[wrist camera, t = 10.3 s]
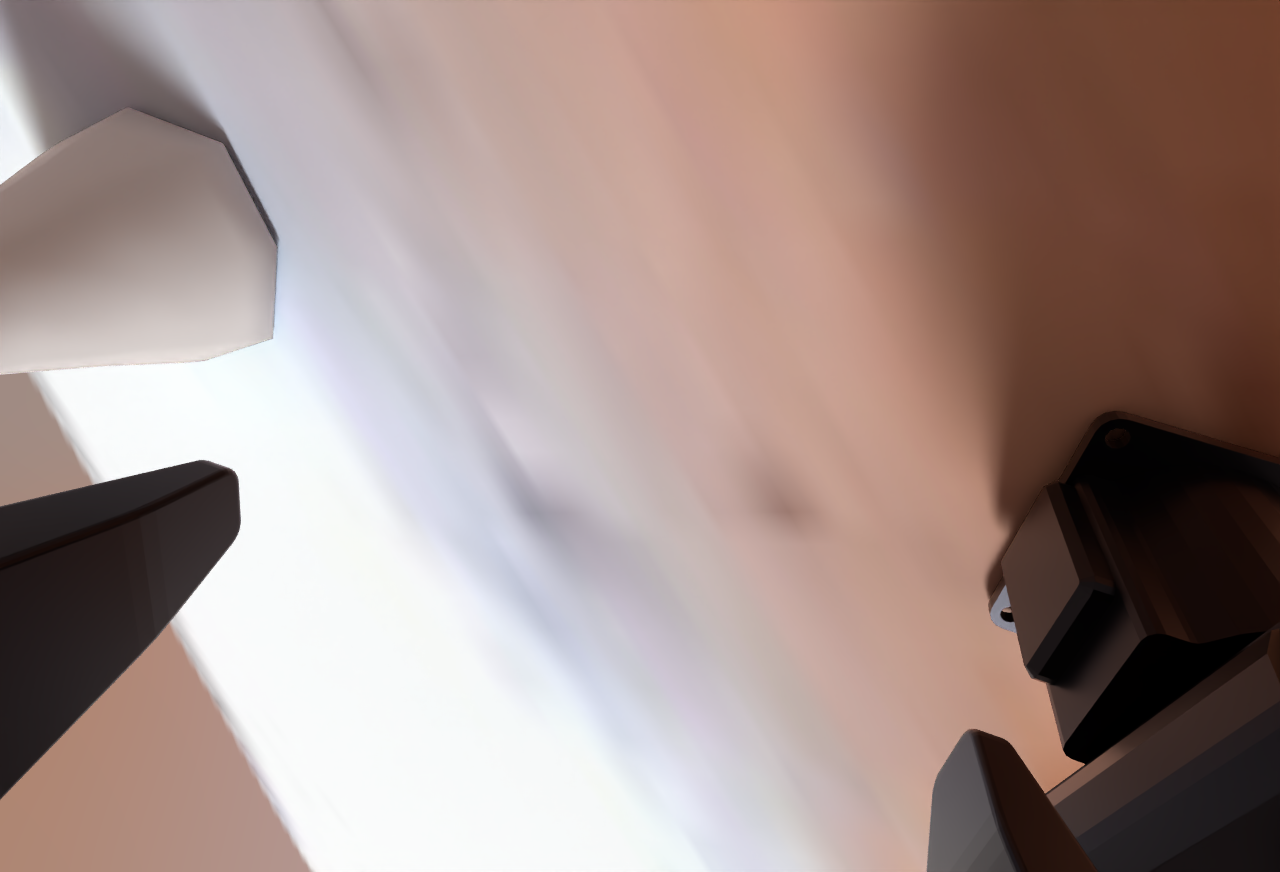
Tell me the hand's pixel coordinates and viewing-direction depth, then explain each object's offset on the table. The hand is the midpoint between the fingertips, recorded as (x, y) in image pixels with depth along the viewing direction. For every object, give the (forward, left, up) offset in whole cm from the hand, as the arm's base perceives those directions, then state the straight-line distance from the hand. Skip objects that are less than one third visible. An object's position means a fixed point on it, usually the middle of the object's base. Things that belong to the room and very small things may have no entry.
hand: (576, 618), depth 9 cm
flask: (+16, +3, -12) cm, 20 cm away
